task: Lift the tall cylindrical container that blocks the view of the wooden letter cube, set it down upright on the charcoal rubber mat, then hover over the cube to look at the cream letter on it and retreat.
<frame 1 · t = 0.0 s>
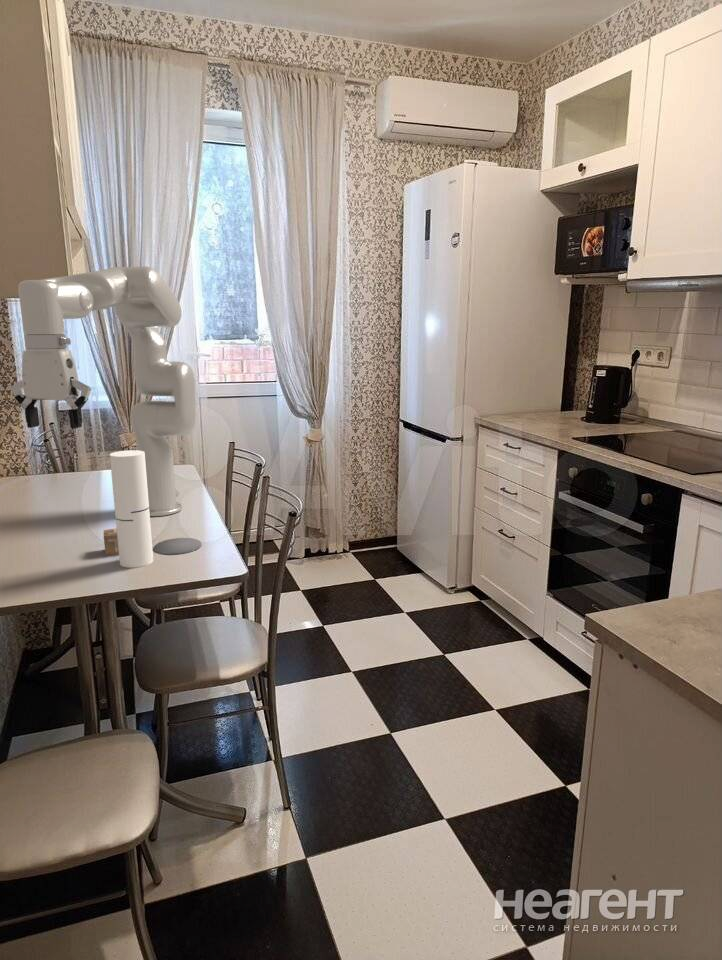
hand: (55, 427, 134), 31 cm above the table, tool pointing down, fingers open, 9 cm apart
cylindrical container: (136, 562, 144), on the table
charcoal mat: (177, 546, 154), on the table
wooden letter cube: (117, 551, 151), on the table
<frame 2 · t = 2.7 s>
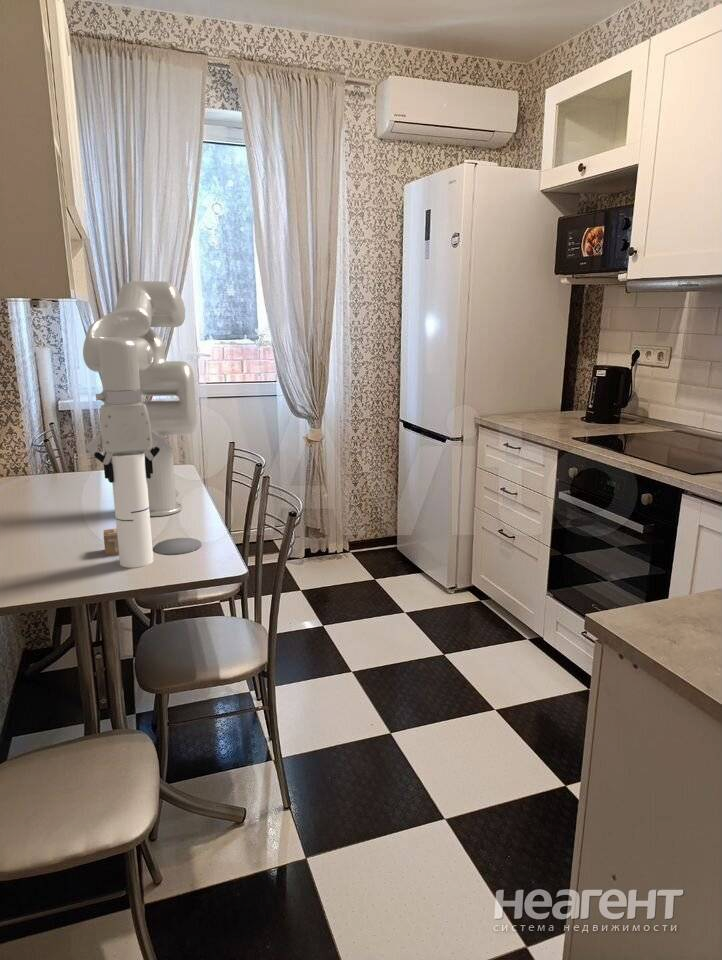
hand: (129, 478, 140), 19 cm above the table, tool pointing down, fingers closed on cylindrical container, 7 cm apart
cylindrical container: (136, 562, 144), on the table, touching gripper
everything else where it was.
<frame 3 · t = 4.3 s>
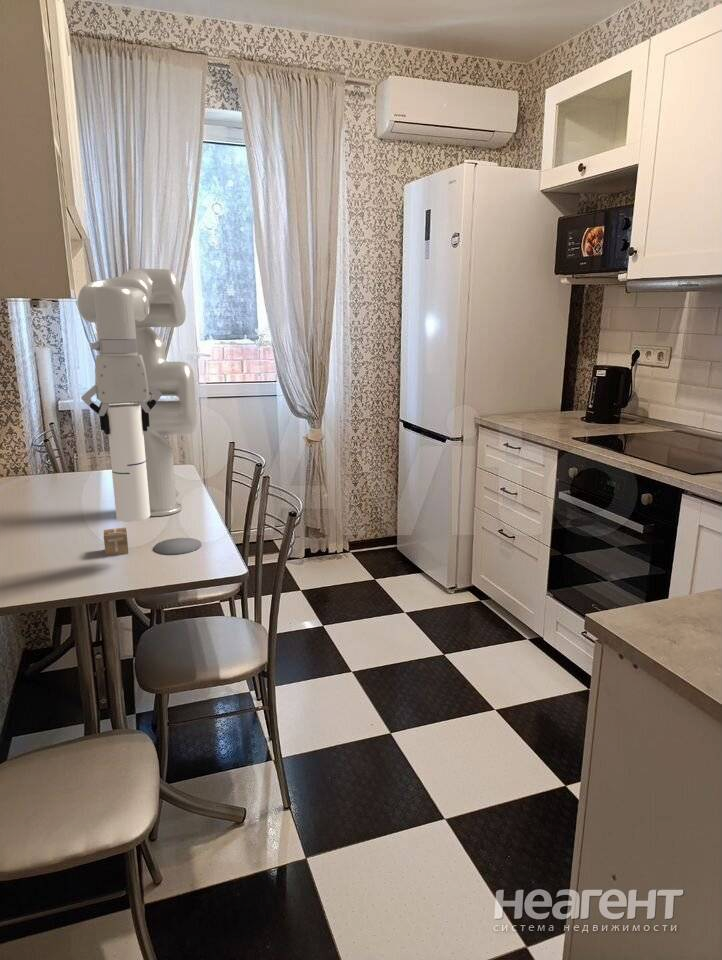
hand: (125, 431, 138), 30 cm above the table, tool pointing down, fingers closed on cylindrical container, 7 cm apart
cylindrical container: (133, 517, 143), point 10 cm above the table, touching gripper
everything else where it was.
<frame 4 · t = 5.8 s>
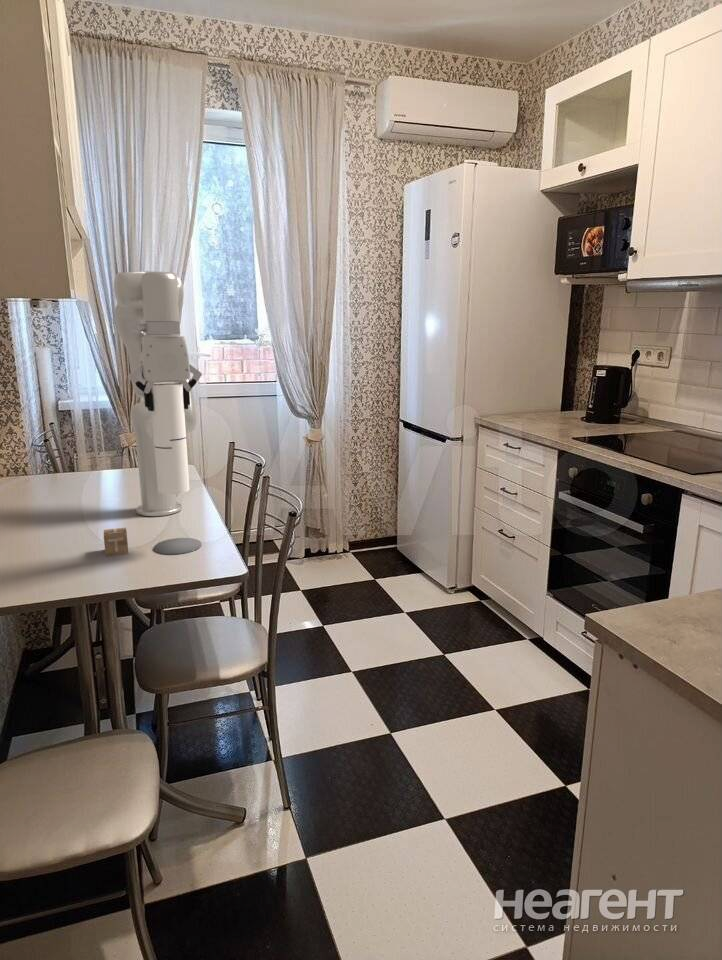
hand: (168, 408, 146), 33 cm above the table, tool pointing down, fingers closed on cylindrical container, 7 cm apart
cylindrical container: (173, 491, 151), point 14 cm above the table, touching gripper
everything else where it was.
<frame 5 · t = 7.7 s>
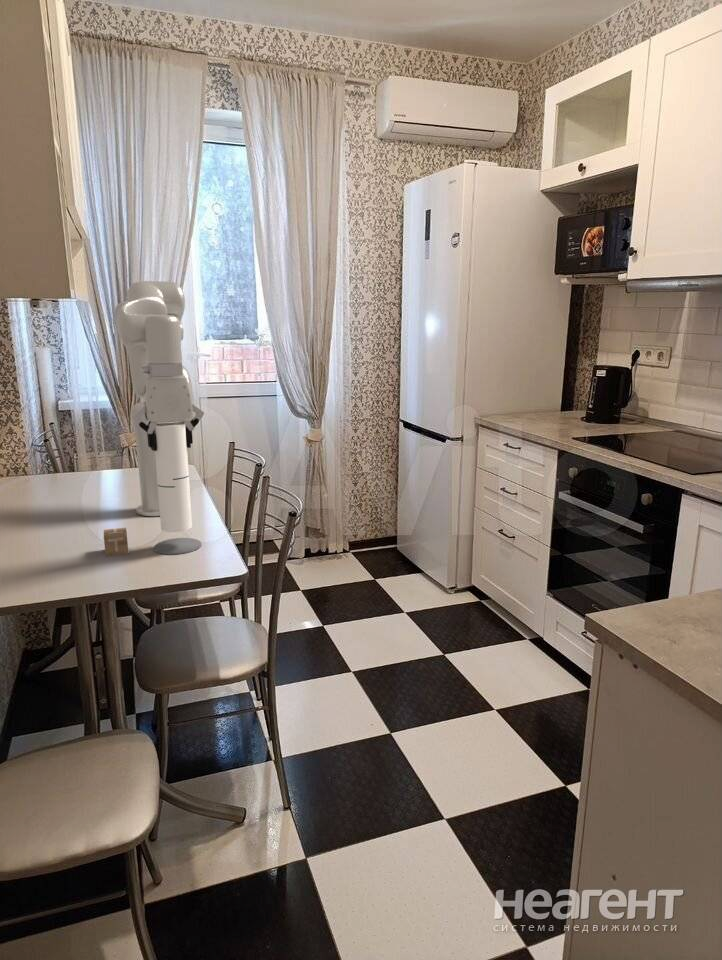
hand: (170, 448, 148), 24 cm above the table, tool pointing down, fingers closed on cylindrical container, 7 cm apart
cylindrical container: (176, 528, 153), point 5 cm above the table, touching gripper
everything else where it was.
when the fingers open (20 cm above the table, at t = 9.3 s): cylindrical container stays where it is, resting on charcoal mat.
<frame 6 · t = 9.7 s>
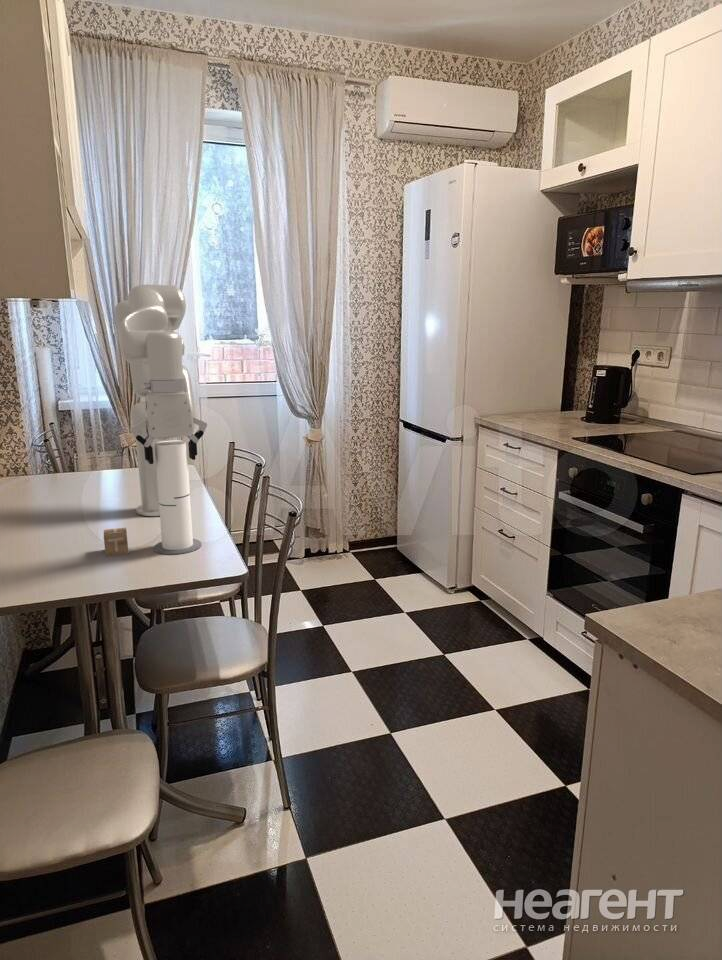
hand: (171, 460, 149), 21 cm above the table, tool pointing down, fingers open, 9 cm apart
cylindrical container: (177, 545, 154), resting on charcoal mat
everything else where it was.
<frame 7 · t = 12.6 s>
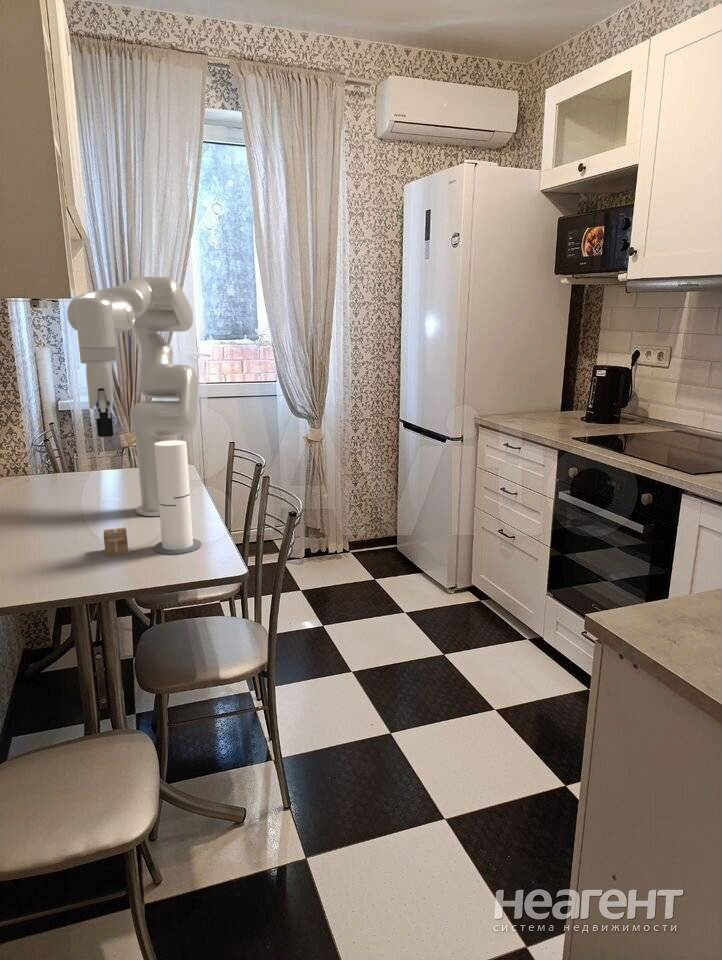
hand: (105, 433, 144), 28 cm above the table, tool pointing down, fingers open, 9 cm apart
nothing on the table moved.
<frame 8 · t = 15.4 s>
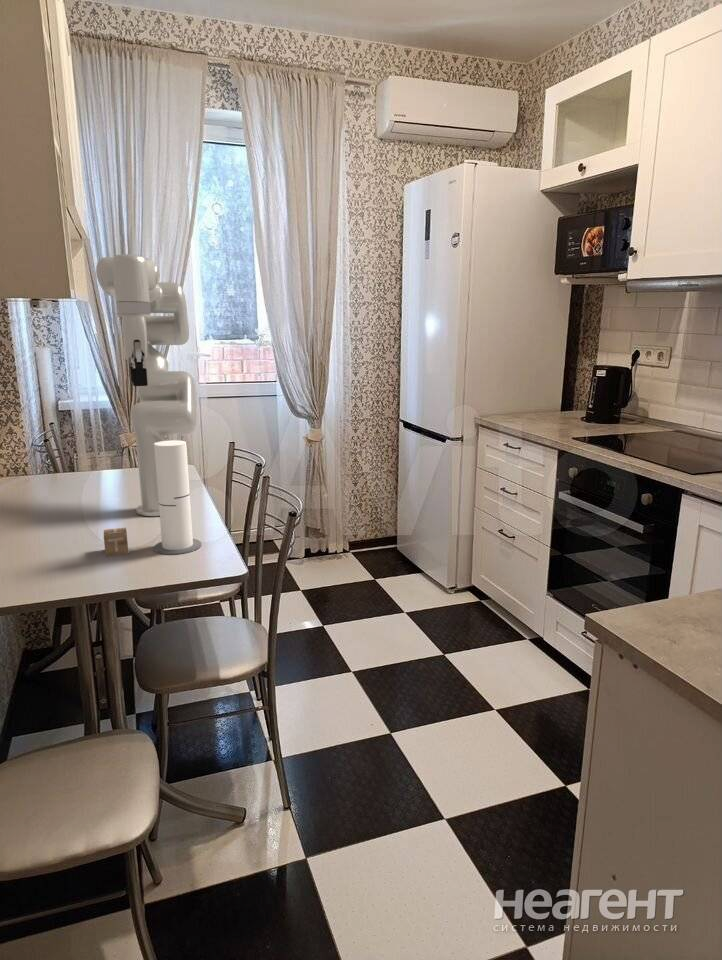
hand: (139, 384, 153), 38 cm above the table, tool pointing down, fingers open, 9 cm apart
nothing on the table moved.
at the end: cylindrical container 0.2 cm from the charcoal mat (horizontally); cylindrical container tilted 0°; wooden letter cube moved 0.1 cm from its start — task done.
